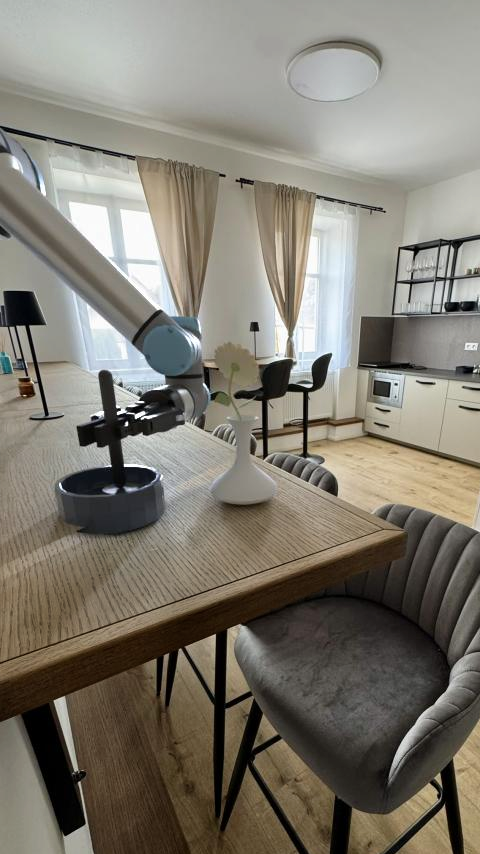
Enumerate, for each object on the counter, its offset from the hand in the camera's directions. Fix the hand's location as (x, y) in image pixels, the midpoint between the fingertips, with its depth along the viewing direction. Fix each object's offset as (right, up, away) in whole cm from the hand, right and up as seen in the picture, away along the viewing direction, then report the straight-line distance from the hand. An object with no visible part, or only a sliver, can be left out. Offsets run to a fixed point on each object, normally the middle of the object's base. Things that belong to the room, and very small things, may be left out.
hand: (89, 436), depth 53 cm
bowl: (0, -11, +9) cm, 14 cm away
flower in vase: (+18, -8, +18) cm, 26 cm away
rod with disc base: (+1, -9, +9) cm, 13 cm away
